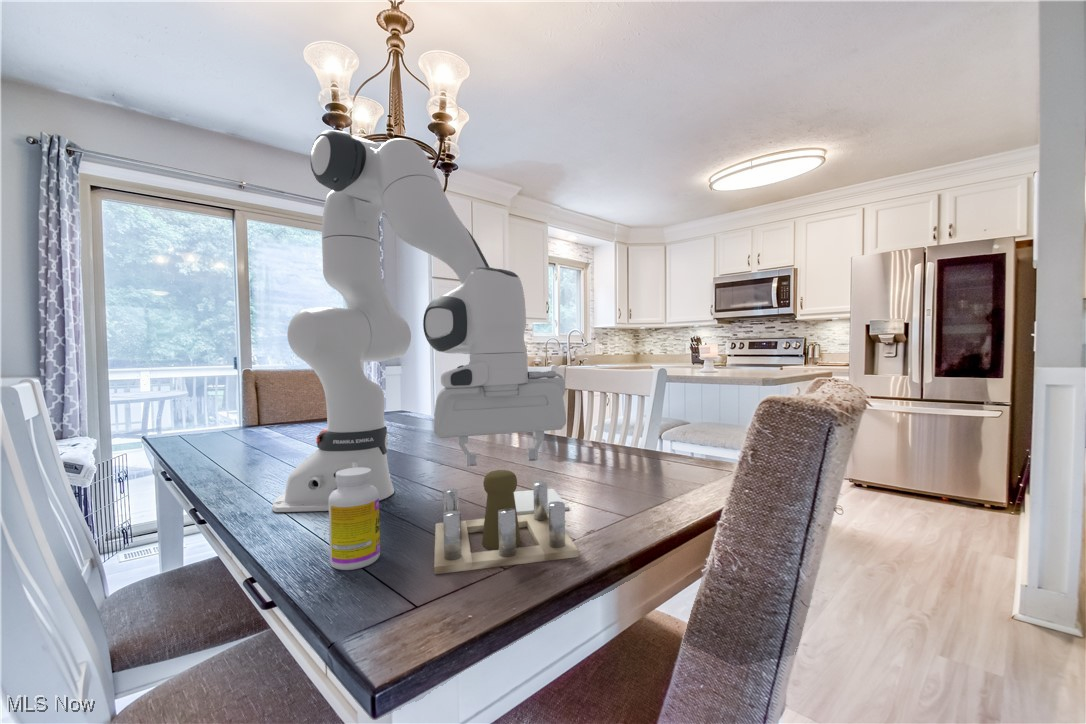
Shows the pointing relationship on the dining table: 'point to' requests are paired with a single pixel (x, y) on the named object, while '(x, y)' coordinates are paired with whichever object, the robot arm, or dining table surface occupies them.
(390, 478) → the robot arm
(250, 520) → the dining table surface
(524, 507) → the mat
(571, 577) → the dining table surface
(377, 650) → the dining table surface
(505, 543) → the steel spacers
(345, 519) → the supplement bottle
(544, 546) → the board
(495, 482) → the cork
